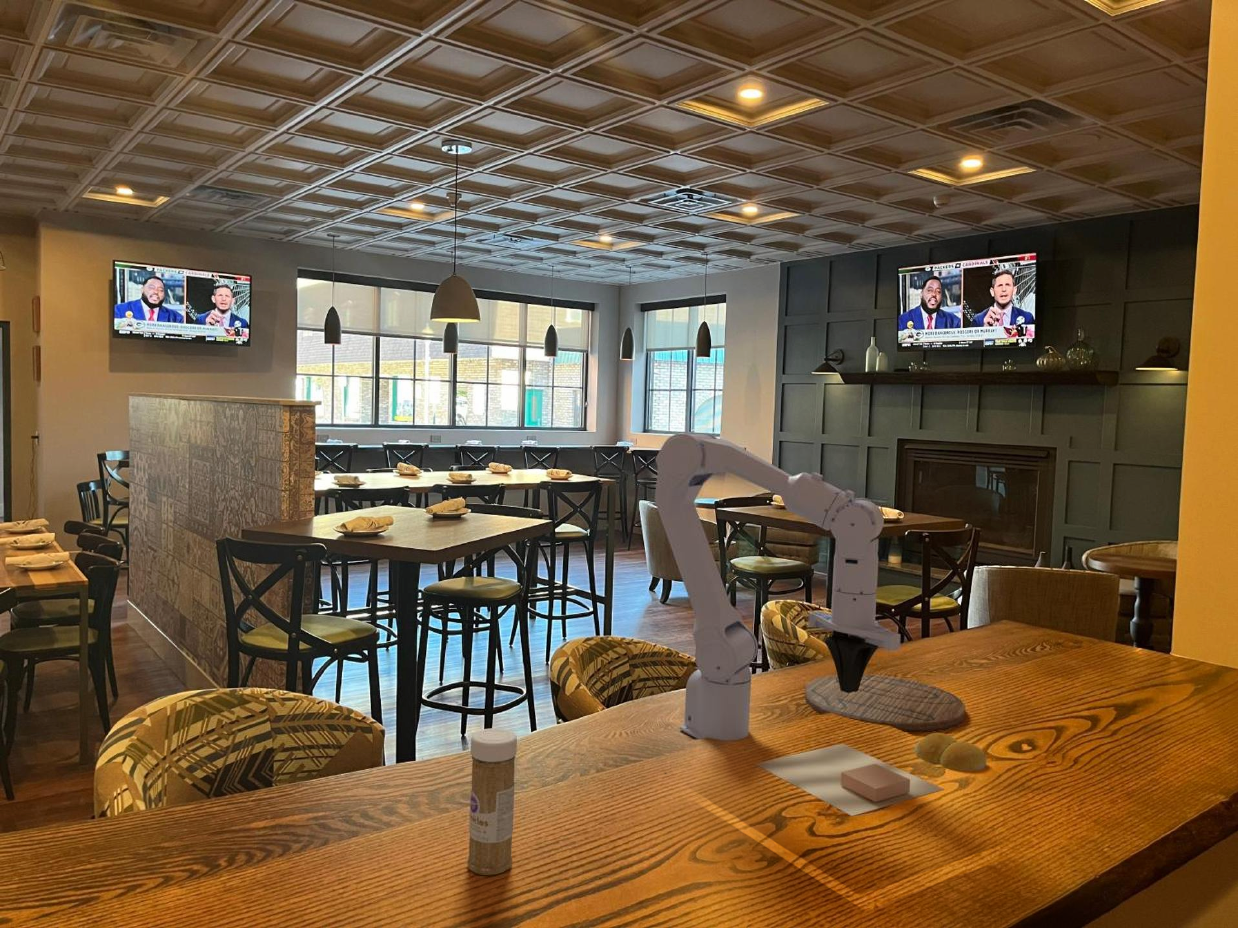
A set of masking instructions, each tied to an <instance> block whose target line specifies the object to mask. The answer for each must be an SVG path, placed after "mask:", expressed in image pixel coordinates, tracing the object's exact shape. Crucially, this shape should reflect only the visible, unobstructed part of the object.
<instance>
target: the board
mask: <svg viewBox="0 0 1238 928" xmlns="http://www.w3.org/2000/svg"><path fill="white" fill-rule="evenodd" d="M872 764H877V765H879V766H882V767H884V768H886V769H888V770H890V771H893V772H895V773H897V774H899V775H901V776H904V777H906V778H908V779H910V792H909V793H905V794H902V795H898V796H895V797H891V798H888V799H884V800H881V801H877V802H874V801H872V800H870V799H868V798H866V797H864V796H862V795H860V794H858V793H856V792H854V791H852V790H850V789H848V788H846V787H844V786H842V785H841V772H844V771H848V770H852V769H856V768H860V767H864V766H868V765H872ZM754 765H756V766H758V767H759V768H761V769H762V770H764V771H767V772H768V773H771V774H773V775H774V776H776V777H778V778H780V779H781V780H783V781H786V782H787V783H789V784H791V785H793V786H795V787H796V788H799V789H800V790H802V791H803V792H805V793H808V794H809V795H811V796H814V797H815V798H817V799H819V800H820V801H823V802H825V803H827V804H828V805H830V806H832V807H834V808H836V809H838V810H839V811H841V812H843V813H845V814H847V815H849V816H851V817H853V816H855V817H856V816H857V815H860V814H865V813H868V812H872V811H875V810H879V809H882V808H886V807H890V806H891V805H895V804H899V803H903V802H906V801H909V800H913V799H917V798H920V797H924V796H926V795H927V796H928V795H930V794H933V793H937V792H940V791H944V790H945V789H944V788H943V787H940V786H938V785H935V784H933V783H932V782H929V781H926V780H925V779H923V778H921V777H918V776H916V775H913V774H911V773H908V772H906V771H904V770H902V769H900V768H898V767H896V766H894V765H891V764H889V763H887V762H884V761H882V760H880V759H878V758H875V757H873V756H872V755H869V754H867V753H864V752H862V751H859V750H858V749H856V748H854V747H851V746H849V745H847V744H844V743H841V744H836V745H832V746H826V747H821V748H819V749H813V750H810V751H809V750H808V751H804V752H801V753H800V752H799V753H796V754H791V755H787V756H781V757H778V758H774V759H770V760H765V761H760V762H756V763H754Z"/></svg>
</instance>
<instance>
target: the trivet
mask: <svg viewBox="0 0 1238 928" xmlns="http://www.w3.org/2000/svg"><path fill="white" fill-rule="evenodd" d="M804 699H805V703H806V704H807V705H808V706H809V707H810V708H811V710H813V711H815V712H817V713H819V714H821V715H827V714H831V713H832V714H833V713H834V714H836V715H839V716H841V717H845V718H850V719H854V720H858V721H861V722H868V723H873V724H880V725H886V726H888V727H891V728H893V729H897V730H899V731H901V732H904V733H906V732H928V733H934V732H933V731H936V732H940V731H939V730H944V731H947V729H948V730H950V729H949V728H951V729H954V728H957V727H959V724H960V723H961V724H963V722H964V721H965V715H966V705H965V703H964V702H963V701H962V700H961V698H959V697H957V696H956V695H955V694H953V693H951V692H949V691H947V690H944V689H942V688H939V687H938V686H933V685H931V684H927V683H925V682H921V681H916V680H913V679H907V678H901V677H898V676H897V677H894V676H889V675H881V674H868V673H864V674H863V676H862V679H861V683H860V686H859V689H858V691H857V692H852V693H846V692H843V691H841V690H840V685H839V680H838V675H837V674H830V675H826V676H821V677H818V678H814V679H812V680H811V681H808V683H807V684H806V686H805V687H804ZM962 721H963V722H962ZM961 724H960V725H961ZM953 727H954V728H953Z"/></svg>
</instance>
